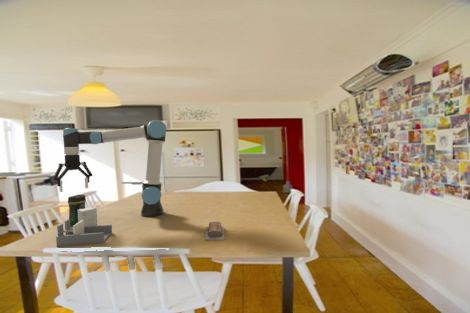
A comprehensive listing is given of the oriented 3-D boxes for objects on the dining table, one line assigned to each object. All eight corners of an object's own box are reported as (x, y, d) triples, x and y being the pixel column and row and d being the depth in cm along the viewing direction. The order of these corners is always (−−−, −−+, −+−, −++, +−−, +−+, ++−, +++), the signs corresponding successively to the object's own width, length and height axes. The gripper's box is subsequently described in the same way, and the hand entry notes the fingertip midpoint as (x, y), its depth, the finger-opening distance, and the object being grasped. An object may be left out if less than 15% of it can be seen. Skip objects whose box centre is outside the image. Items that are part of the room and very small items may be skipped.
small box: (93, 228, 153) (92, 206, 153) (98, 230, 149) (96, 208, 149) (78, 232, 147) (77, 209, 147) (82, 234, 143) (81, 211, 142)
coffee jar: (77, 227, 157) (75, 196, 156) (66, 226, 159) (64, 196, 158) (89, 222, 166) (88, 193, 165) (79, 221, 168) (77, 193, 167)
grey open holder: (84, 234, 140) (83, 219, 139) (75, 241, 130) (74, 225, 129) (66, 235, 138) (65, 221, 138) (56, 243, 128) (55, 227, 128)
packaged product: (205, 221, 146) (223, 220, 147) (206, 229, 146) (223, 228, 147) (204, 232, 128) (224, 231, 129) (204, 241, 128) (224, 240, 129)
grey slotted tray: (112, 233, 144) (111, 215, 143) (103, 242, 130) (102, 223, 129) (70, 236, 140) (69, 218, 140) (56, 246, 127) (55, 226, 126)
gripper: (92, 153, 165) (94, 186, 166) (44, 155, 146) (47, 192, 147) (96, 153, 160) (98, 187, 161) (48, 155, 141) (51, 194, 142)
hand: (74, 189), depth 154 cm, fingers open, 13 cm apart
